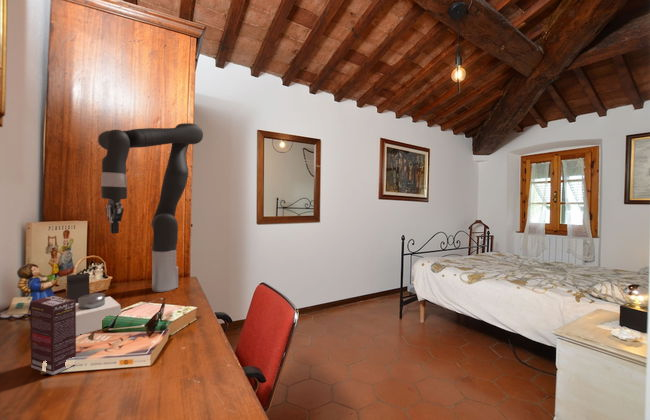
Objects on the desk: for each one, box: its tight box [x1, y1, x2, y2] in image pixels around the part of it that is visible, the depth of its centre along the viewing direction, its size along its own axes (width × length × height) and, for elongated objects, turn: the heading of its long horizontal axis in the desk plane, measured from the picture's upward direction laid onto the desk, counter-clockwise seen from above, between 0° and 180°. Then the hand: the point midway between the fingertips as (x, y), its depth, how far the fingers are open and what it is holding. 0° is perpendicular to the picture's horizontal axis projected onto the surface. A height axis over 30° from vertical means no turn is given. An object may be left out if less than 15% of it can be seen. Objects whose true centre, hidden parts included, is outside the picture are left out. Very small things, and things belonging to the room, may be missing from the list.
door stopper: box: [66, 272, 91, 303], centre depth 102 cm, size 9×6×12 cm, turn 45°
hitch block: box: [76, 296, 122, 337], centre depth 88 cm, size 12×12×6 cm
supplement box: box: [29, 295, 77, 376], centre depth 66 cm, size 9×5×16 cm, turn 71°
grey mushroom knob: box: [78, 292, 106, 310], centre depth 88 cm, size 6×6×8 cm
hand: (114, 233), depth 103 cm, fingers closed
